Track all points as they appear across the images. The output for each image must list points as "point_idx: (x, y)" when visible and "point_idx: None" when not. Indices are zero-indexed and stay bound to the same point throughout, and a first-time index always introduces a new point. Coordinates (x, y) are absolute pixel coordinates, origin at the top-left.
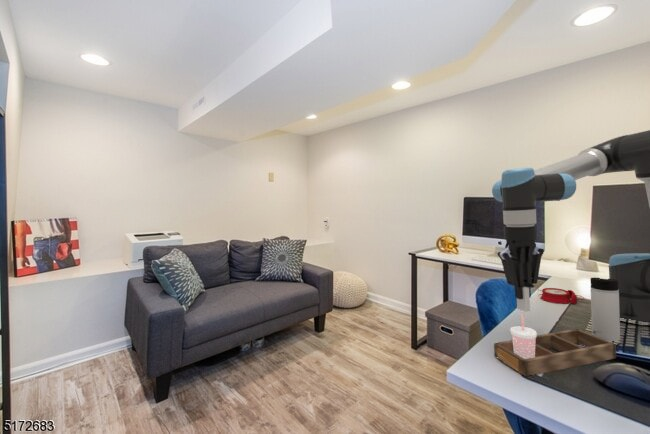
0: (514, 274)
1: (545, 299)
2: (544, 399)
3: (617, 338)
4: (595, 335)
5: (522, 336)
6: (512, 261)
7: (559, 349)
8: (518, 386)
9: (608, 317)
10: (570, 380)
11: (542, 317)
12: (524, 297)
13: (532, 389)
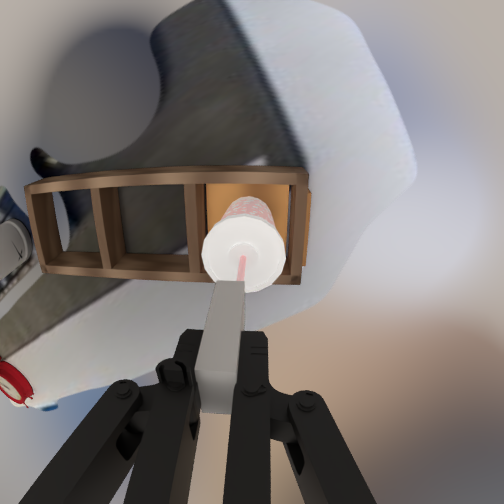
0: (331, 476)
1: (28, 386)
2: (336, 88)
3: (3, 224)
4: (24, 249)
5: (275, 229)
6: None
7: (120, 235)
8: (350, 143)
9: None
10: (209, 122)
11: (61, 353)
12: (239, 329)
13: (330, 123)
